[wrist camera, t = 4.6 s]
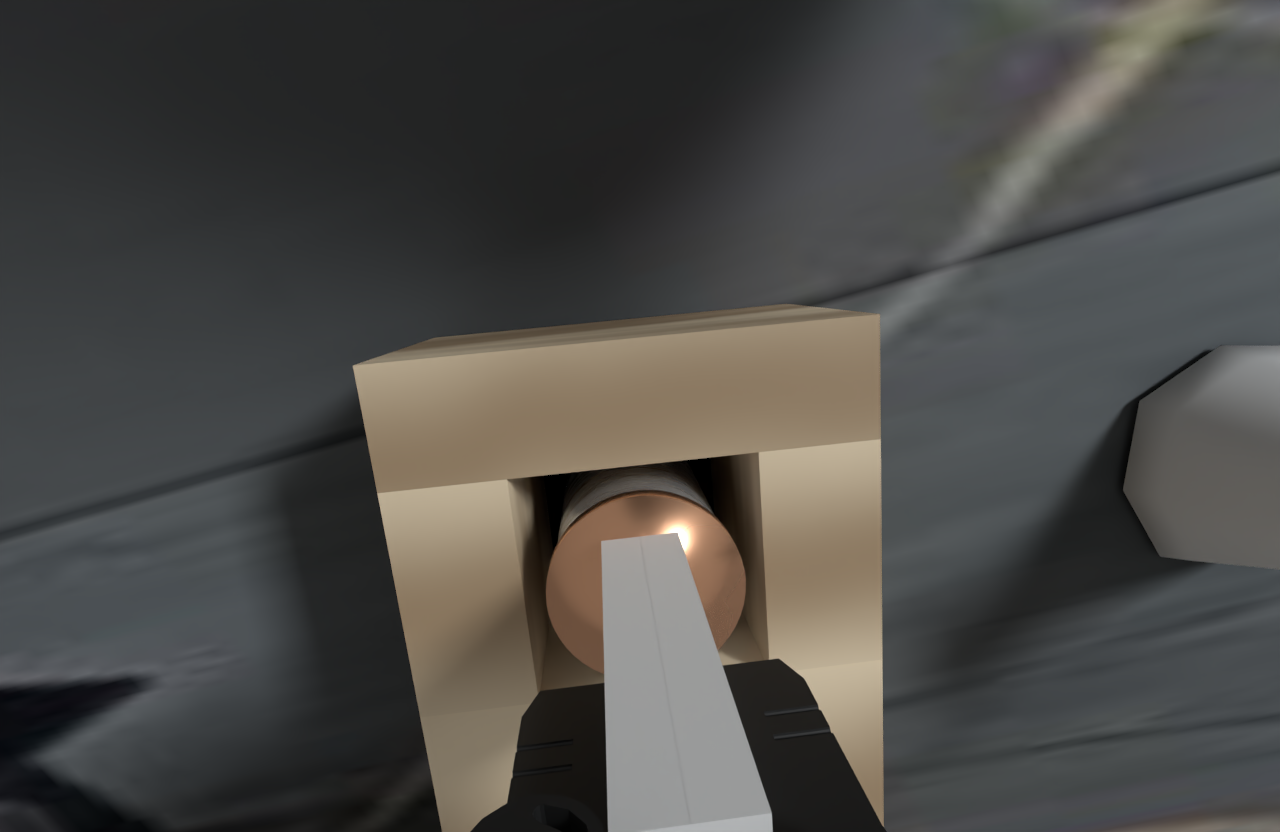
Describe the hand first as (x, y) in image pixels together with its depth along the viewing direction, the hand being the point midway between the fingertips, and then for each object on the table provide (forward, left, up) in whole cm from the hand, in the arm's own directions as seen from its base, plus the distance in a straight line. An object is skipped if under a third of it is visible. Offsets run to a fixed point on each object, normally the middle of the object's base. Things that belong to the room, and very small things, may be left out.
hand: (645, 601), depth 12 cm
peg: (0, 0, -6) cm, 6 cm away
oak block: (+6, 0, -7) cm, 9 cm away
